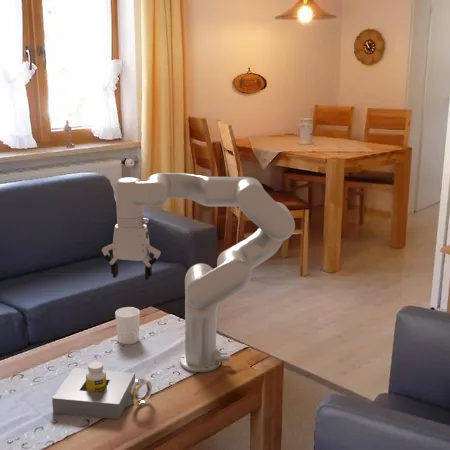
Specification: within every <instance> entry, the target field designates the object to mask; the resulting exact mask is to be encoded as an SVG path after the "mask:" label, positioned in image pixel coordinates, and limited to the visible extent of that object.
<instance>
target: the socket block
mask: <svg viewBox="0 0 450 450" xmlns="http://www.w3.org/2000/svg"><path fill="white" fill-rule="evenodd" d="M103 370H104V369H103ZM104 371H105V372H106V388H105V390H104V392H103V393H101V392H90V391H86V373H87V372H88V368H83V367H82V368H80V367H73V368H72V370H71V371H70V373H69V374H68V375H67V377H66V378H65V379H64V381H63V382H62V384H61V385H60V386H59V388H58V389H57V390H56V392H55V393H54V395H53V396H52V397H51V400H52V402H51V403H52V413H53V414H60V415H71V416H79V417H90V418H91V417H92V418H100V419H101V418H102V419H110V420H120V418H121V417H122V415H123V412H124V410H125V409H126V407H127V405H126V404H128V403H129V401H130V399H131V398H130V396H131V390H132V387H133V384H134V382H135V381H136V373H135V372H125V371H115V370H104ZM129 398H130V399H129ZM128 400H129V401H128ZM127 402H128V403H127Z"/></svg>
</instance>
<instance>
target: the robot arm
mask: <svg viewBox="0 0 450 450" xmlns="http://www.w3.org/2000/svg"><path fill="white" fill-rule="evenodd" d="M115 199H116V200H115V201H116V203H115V204H116V224H115V226H114V229H113V230H114V231H113V239H112V243H111V244H108V245H106V246H104V247H102V249H101V252H102V254H103V256H104V259H105V260H106V261H107V262H108V263H109V264H110V265H111V266H110V267H111V268H110V270H111V271H110V272H111V274H112V277H113V278H117V277H118V276H119V262H118V260H123V261H138V262H139V261H141V262H143V263H144V264H145V268H144V273H145V275H144V276H145V277H144V279H145V280H146V281H148V280H149V279H150V278H151V277H152V275H153V274H152V273H153V265H154V264H155V263H156V262H157V261H158V259H159V258H160V256H161V253H162V252H161V251H160V250H159V249H157V248H155V247H154V246H152V245H150V237H149V229H148V226H147V224H148V223H149V221H150V219H149V218H148V217H145V213H144V206H145V207H150V208H151V207H154V208H158V207H163V206H165V205H166V204H167V203H168V202H169V199H183V200H185V199H186V200H190V201H193V202H196V203H197V204H199V205H201V206H205V207H212V208H213V207H229V208H230V207H235V208H237V207H238V208H239V210H240V211H241V212H242V213H243V214H244V215H245V216H246V217H247V218H248V219H249V220H250V221H251V222H252V223H253V224H255V225H256V226H257V227H258V228H257V230H255V231H254V233H252V234H251V235H249V236H248V237H246V238H244V239H243V240H241V241H239V242H238V243H236V244H234V245H232V246H230V247H229V248H227V249H225V250H224V251H222V252H221V253H220V254H219V256H218V258H217V261H216V263H217V264H216V265H217V266H216V267H215V268H213V267H212V266H210V265H209V264H206V263H203V262H202V263H201V262H200V263H196V264H193V265H192V266H191V267H189V268H188V270H187V272H186V274H185V278H184V290H185V291H184V294H185V295H184V296H185V297H184V298H185V301H184V305H185V306H184V308H185V309H184V311H185V312H184V313H185V314H184V321H185V322H184V329H185V330H184V353H183V354H182V355H181V356H180V358H179V363H180V366H181V367H182V368H183V369H185V370H187V371H190V372H194V373H207V372H211V371H214V370H216V369H217V368H219V367H220V365H221V363H222V362H229V363H230V362H231V355H230V354H228V351H220V350H219V346H218V345H217V326H218V325H217V322H218V321H217V317H218V304H220V303H221V302H223V301H225V300H227V299H228V298H230V297H232V296H234V295H235V294H237V293H239V292H240V291H242V290H244V289H245V287H247V285H249V283H250V281H251V280H252V275H253V269H255V267H257V266H260V265H261V264H262V263H264V262H265V261H267V260H269V259H271V257H272V256H274V255H275V254H276V253H277V252H278V251H279V249H280V248H281V246H282V244H283V243H284V241H286V240H287V239H290V237H291V236H292V235H293V234H294V231H295V229H296V221H295V220H294V217H293V215H292V214H291V212H290V209H288V207H287V206H286V205H285V204H283V203H282V202H279V201H276V200H274V199H273V197H271V195H270V194H269V193H268V192H267V191H266V190H265V189H264V187H263V185H262V183H261V182H260V181H259V180H258V179H257V178H254V177H250V176H205V175H200V174H199V175H197V174H189V173H181V172H178V173H177V172H176V173H175V172H174V173H173V172H172V173H171V172H170V173H169V172H164V173H163V172H159V173H154V174H152V175H150V176H148V177H147V178H146V180H145V181H142V180H141V179H140V178H137V177H131V176H130V177H122V178H119V179H118V180H117V181H116V183H115ZM111 250H112V254H110V252H109V251H111ZM150 253H151V254H153V255H154V256H153V257H152V258H151V257H150ZM113 278H112V279H113Z"/></svg>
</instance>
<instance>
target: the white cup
mask: <svg viewBox="0 0 450 450" xmlns="http://www.w3.org/2000/svg"><path fill="white" fill-rule="evenodd" d="M140 317H141V316H140V309H139V308H136V307H132V306H125V307H120V308H118V309H116V311H115V324H116V325H115V328H116V335H117V341H118V343H120V344H123V345H132V344H135V343H137V342H138V341H139V337H140V336H139V334H140Z"/></svg>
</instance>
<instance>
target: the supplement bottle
mask: <svg viewBox="0 0 450 450" xmlns="http://www.w3.org/2000/svg"><path fill="white" fill-rule="evenodd" d="M87 369H88V372H87V373H86V391H90V392H101V393H103V392H104V390H105V388H106V372H105V371H106V370H105V371H104V363H103V362H101V361H93V362H90V363H88V365H87Z"/></svg>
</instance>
